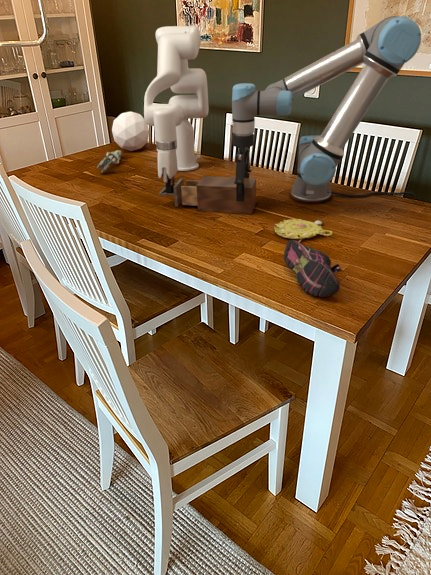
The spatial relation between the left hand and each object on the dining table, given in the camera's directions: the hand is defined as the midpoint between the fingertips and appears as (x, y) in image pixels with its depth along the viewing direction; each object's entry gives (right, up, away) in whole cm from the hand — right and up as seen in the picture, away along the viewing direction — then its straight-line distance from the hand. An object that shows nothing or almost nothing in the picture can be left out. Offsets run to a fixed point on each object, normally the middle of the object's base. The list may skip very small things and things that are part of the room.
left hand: (170, 193), depth 169 cm
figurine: (-33, +24, +46) cm, 62 cm away
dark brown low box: (+22, -5, -2) cm, 22 cm away
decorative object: (+46, -18, -22) cm, 54 cm away
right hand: (+27, -2, -6) cm, 28 cm away
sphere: (-27, +38, +69) cm, 84 cm away
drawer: (+9, -3, 0) cm, 10 cm away
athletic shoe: (+44, -34, -48) cm, 73 cm away
